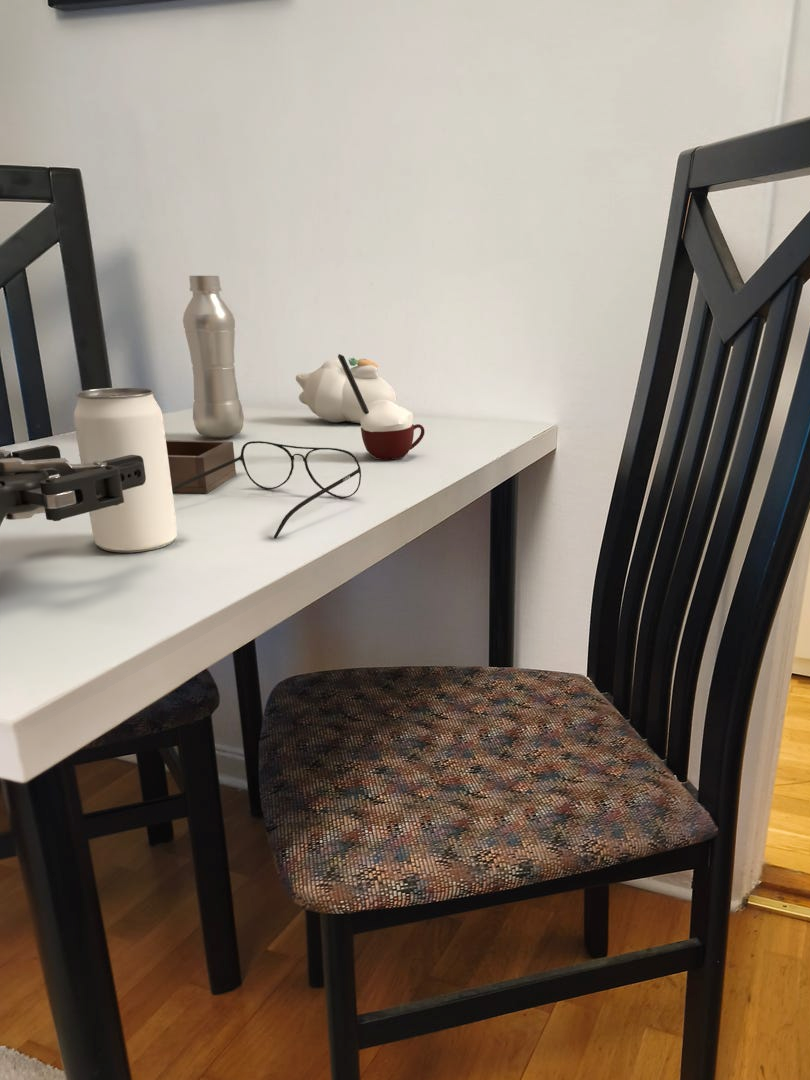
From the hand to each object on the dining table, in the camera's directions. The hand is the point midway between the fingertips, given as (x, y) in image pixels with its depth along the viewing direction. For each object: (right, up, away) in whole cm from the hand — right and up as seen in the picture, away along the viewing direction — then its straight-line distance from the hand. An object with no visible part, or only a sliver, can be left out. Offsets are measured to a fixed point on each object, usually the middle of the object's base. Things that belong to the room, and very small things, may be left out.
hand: (98, 463), depth 68 cm
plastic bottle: (-5, +13, +51) cm, 53 cm away
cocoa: (+18, +8, +39) cm, 44 cm away
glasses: (+9, -1, +15) cm, 18 cm away
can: (+1, -6, +5) cm, 8 cm away
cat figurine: (+10, +19, +64) cm, 67 cm away
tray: (-2, +3, +25) cm, 26 cm away
